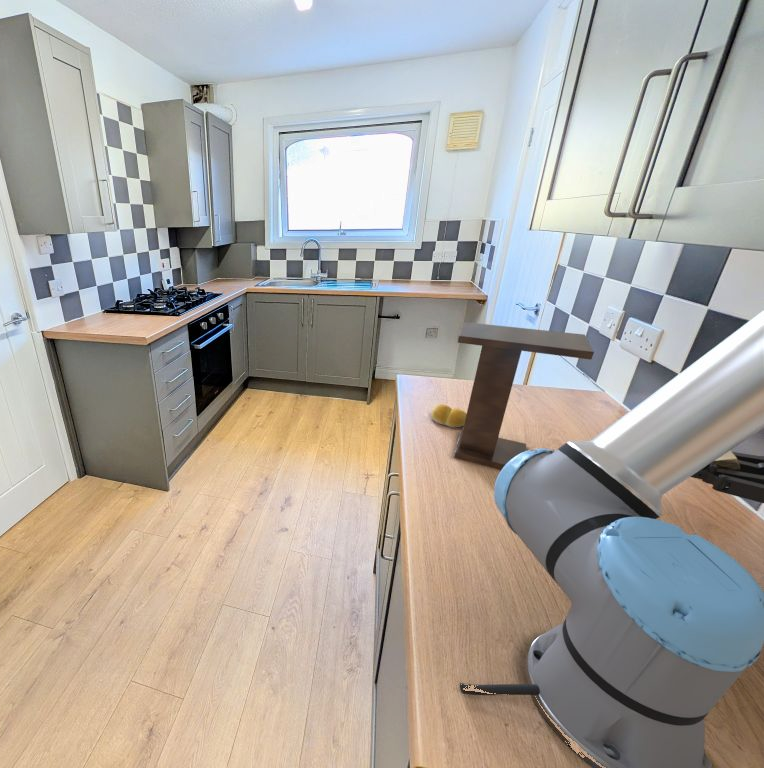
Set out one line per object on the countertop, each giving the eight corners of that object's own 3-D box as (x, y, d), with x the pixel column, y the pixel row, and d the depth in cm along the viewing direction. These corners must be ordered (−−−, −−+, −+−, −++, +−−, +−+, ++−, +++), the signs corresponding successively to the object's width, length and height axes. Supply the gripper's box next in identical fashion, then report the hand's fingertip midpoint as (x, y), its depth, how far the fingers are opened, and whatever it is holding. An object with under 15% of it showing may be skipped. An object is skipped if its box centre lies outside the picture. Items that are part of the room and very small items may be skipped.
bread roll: (462, 431, 101) (465, 418, 99) (427, 421, 106) (429, 408, 104) (470, 419, 106) (473, 406, 105) (436, 410, 112) (438, 397, 110)
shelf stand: (544, 453, 91) (584, 334, 79) (548, 482, 82) (594, 351, 70) (442, 430, 102) (464, 322, 90) (435, 452, 92) (458, 335, 81)
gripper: (889, 557, 51) (649, 498, 63) (817, 490, 63) (628, 450, 75) (927, 514, 48) (668, 459, 60) (845, 451, 60) (642, 416, 72)
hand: (646, 454), depth 67 cm, fingers closed on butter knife, 3 cm apart
